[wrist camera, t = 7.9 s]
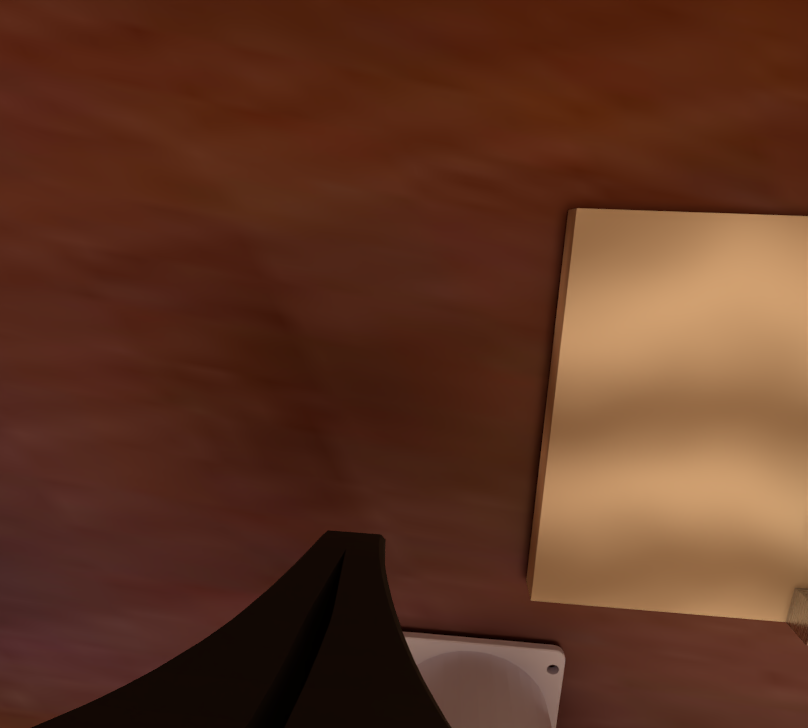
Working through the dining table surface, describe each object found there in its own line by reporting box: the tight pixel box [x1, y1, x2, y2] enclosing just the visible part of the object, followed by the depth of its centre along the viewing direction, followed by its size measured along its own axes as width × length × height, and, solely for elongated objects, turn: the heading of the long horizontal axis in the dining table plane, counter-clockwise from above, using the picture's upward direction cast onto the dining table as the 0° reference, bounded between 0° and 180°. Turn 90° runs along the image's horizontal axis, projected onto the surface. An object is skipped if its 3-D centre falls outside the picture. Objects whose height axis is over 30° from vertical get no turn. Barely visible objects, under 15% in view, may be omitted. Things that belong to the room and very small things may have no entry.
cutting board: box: [526, 208, 808, 622], centre depth 19 cm, size 15×18×1 cm
